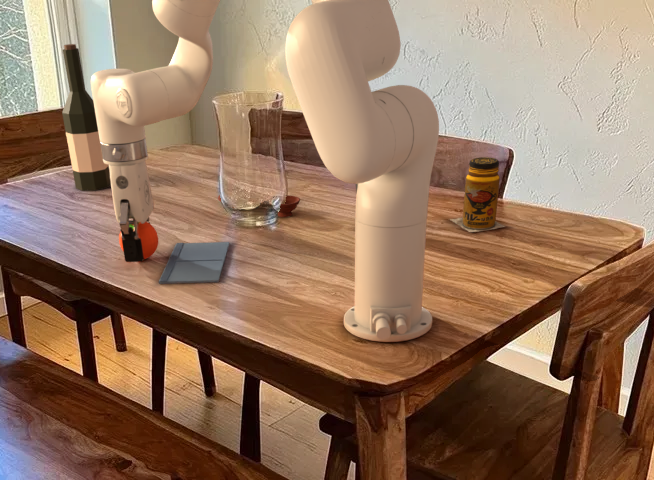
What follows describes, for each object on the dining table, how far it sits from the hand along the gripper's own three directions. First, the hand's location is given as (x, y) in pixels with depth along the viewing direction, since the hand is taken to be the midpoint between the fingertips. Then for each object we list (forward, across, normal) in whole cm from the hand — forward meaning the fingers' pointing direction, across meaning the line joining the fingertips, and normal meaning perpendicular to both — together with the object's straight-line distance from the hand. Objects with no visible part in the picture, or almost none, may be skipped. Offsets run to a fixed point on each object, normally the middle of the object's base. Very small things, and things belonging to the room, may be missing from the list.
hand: (139, 252), depth 140 cm
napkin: (+1, -2, -10) cm, 11 cm away
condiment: (+2, +14, -62) cm, 64 cm away
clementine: (+2, 0, 0) cm, 2 cm away
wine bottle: (+1, +51, +21) cm, 55 cm away
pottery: (+2, +28, -20) cm, 34 cm away
